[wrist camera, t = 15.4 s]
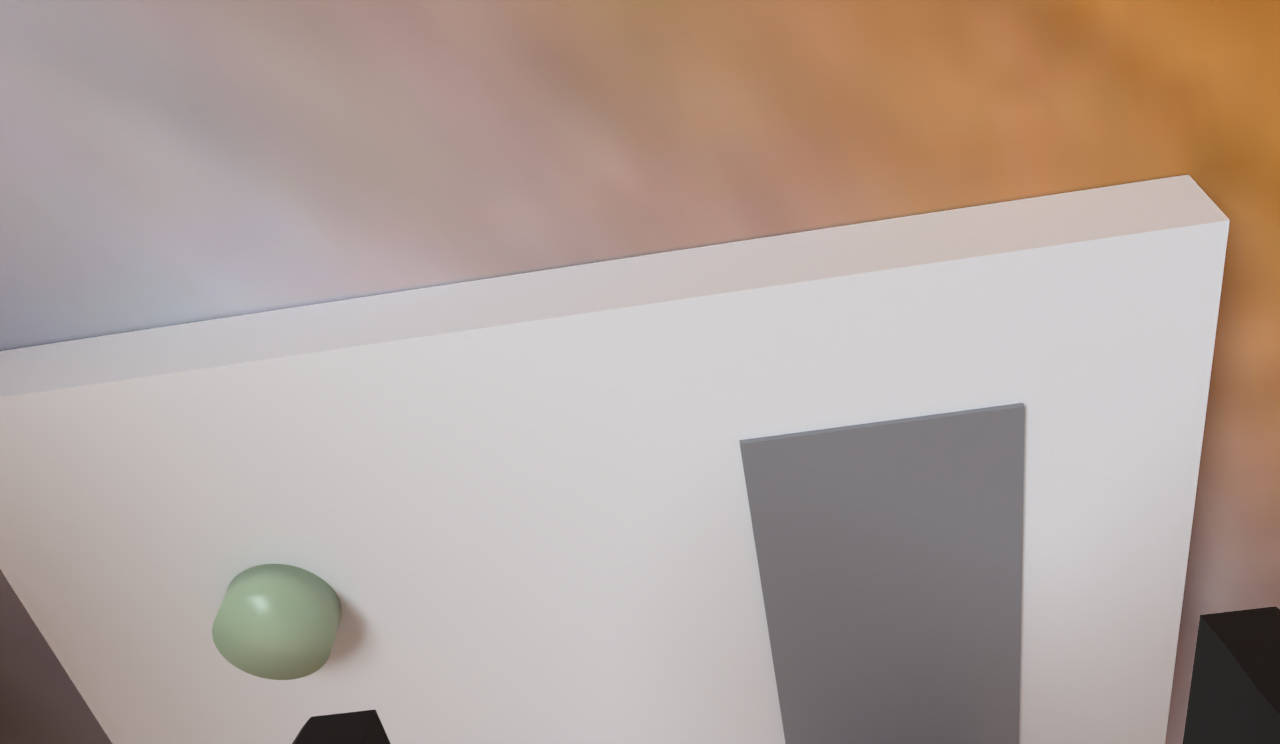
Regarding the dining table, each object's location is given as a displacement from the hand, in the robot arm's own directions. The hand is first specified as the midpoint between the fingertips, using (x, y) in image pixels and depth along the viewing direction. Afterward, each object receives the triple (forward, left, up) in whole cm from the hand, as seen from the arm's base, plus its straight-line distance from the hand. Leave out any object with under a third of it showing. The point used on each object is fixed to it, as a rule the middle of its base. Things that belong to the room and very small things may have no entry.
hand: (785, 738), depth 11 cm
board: (+3, +10, -9) cm, 14 cm away
